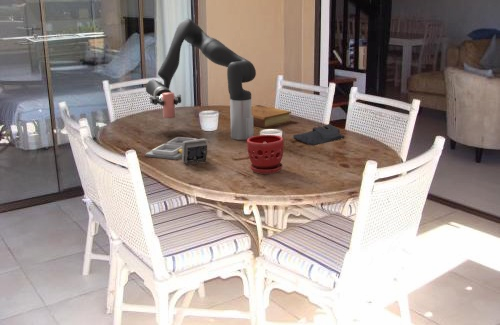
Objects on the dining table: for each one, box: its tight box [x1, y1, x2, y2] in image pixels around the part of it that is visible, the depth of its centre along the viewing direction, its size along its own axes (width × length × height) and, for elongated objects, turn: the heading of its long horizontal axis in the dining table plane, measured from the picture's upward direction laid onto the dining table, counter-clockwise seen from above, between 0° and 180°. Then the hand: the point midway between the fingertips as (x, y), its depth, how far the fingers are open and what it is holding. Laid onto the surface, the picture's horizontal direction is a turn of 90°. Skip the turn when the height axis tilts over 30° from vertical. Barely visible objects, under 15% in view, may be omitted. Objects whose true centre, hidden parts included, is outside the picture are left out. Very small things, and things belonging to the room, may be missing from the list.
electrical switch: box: [181, 138, 208, 166], centre depth 215 cm, size 9×5×9 cm, turn 113°
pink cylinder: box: [162, 91, 176, 119], centre depth 240 cm, size 5×5×10 cm
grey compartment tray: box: [145, 136, 198, 160], centre depth 234 cm, size 14×24×2 cm, turn 158°
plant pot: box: [246, 134, 285, 175], centre depth 205 cm, size 13×13×12 cm
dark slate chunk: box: [292, 123, 345, 146], centre depth 248 cm, size 15×22×5 cm
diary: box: [251, 104, 292, 129], centre depth 280 cm, size 23×19×6 cm
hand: (169, 102), depth 237 cm, fingers closed on pink cylinder, 5 cm apart
